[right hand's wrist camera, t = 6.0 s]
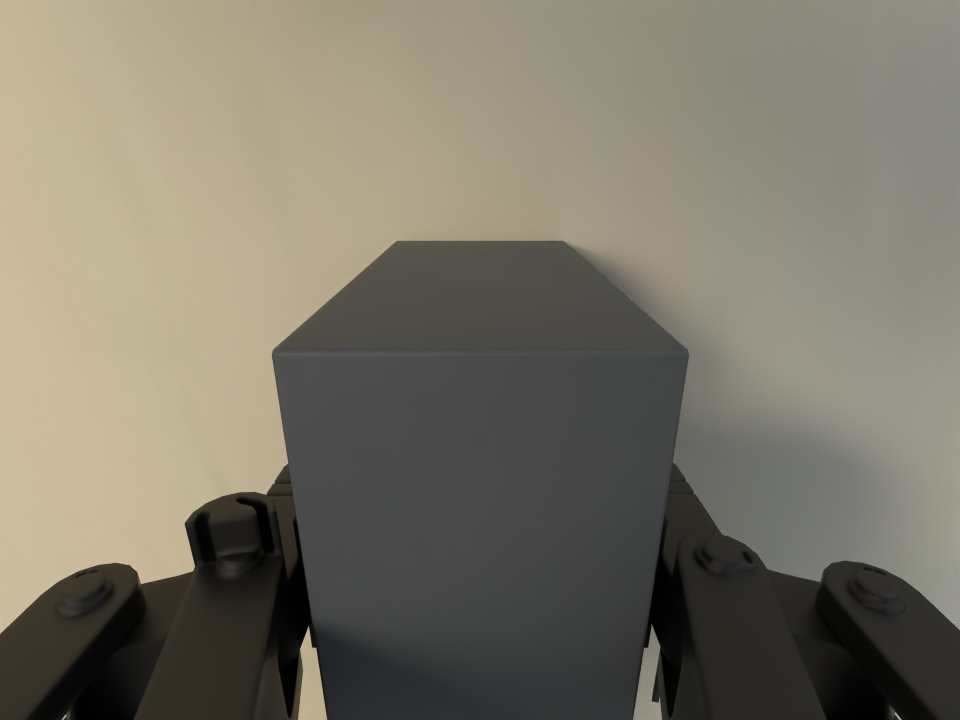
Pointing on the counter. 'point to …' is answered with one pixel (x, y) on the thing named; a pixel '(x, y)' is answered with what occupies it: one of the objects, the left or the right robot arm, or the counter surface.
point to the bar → (480, 482)
